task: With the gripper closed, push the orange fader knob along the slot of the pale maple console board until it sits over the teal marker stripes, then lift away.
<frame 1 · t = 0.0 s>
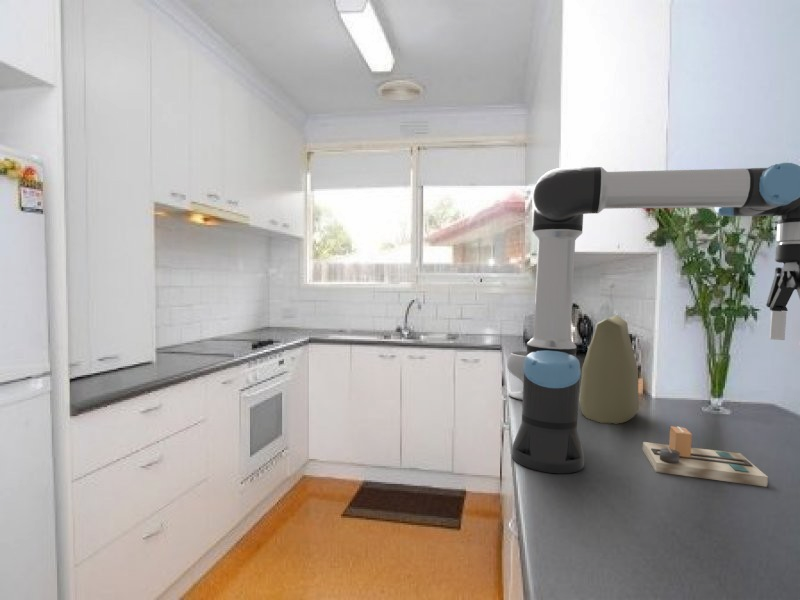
hand: (791, 343, 103), 28 cm above the table, fingers open, 13 cm apart
chalice: (526, 398, 164), on the table
fader knob: (680, 440, 106), point 5 cm above the table, slide at 0.0 cm
container: (607, 414, 147), on the table
console: (699, 466, 105), on the table
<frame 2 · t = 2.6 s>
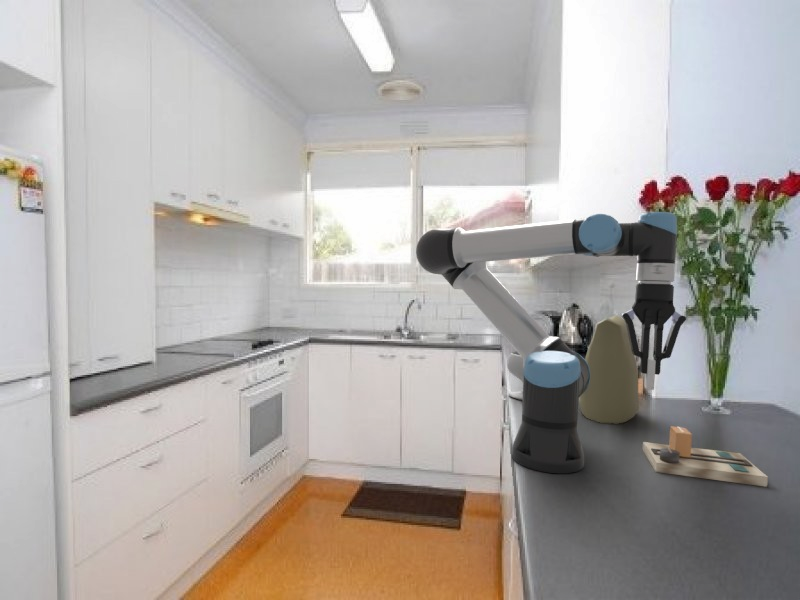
hand: (649, 388, 108), 16 cm above the table, fingers closed
nothing on the table moved.
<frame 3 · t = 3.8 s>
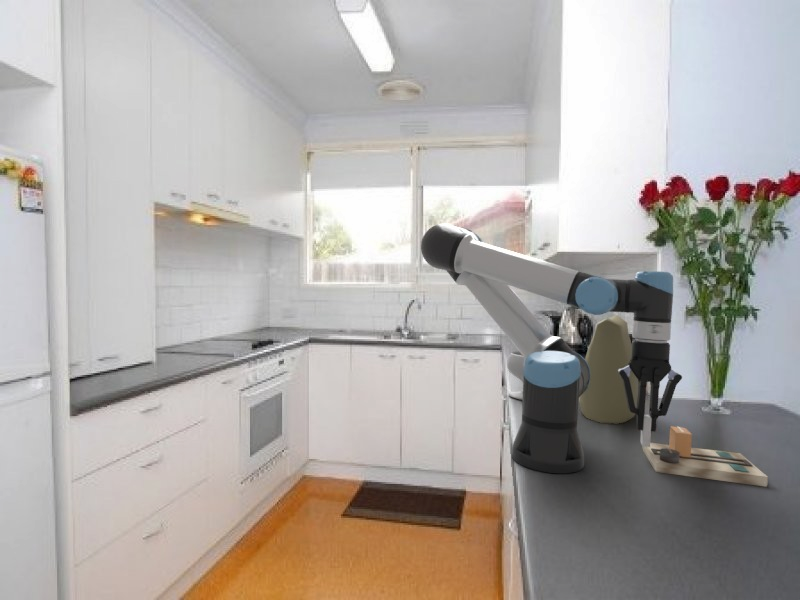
hand: (645, 444, 108), 3 cm above the table, fingers closed
nothing on the table moved.
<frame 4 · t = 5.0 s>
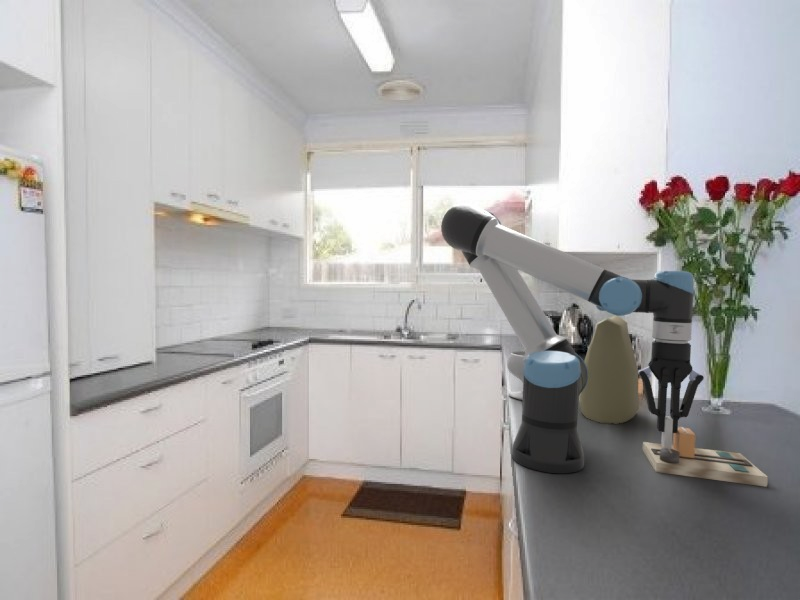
hand: (666, 446, 107), 4 cm above the table, fingers closed
fader knob: (683, 441, 106), point 5 cm above the table, slide at 0.7 cm, touching gripper
everything else where it was.
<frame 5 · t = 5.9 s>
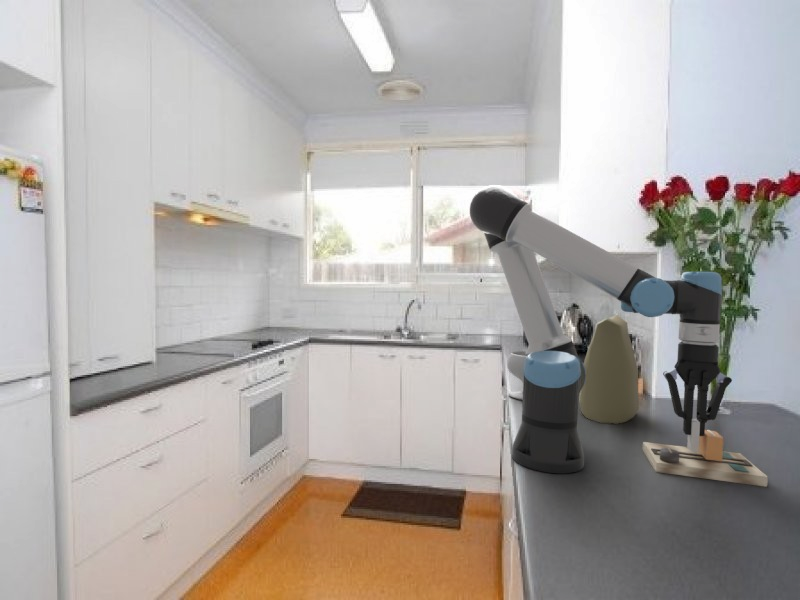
hand: (692, 449, 106), 4 cm above the table, fingers closed
fader knob: (710, 444, 105), point 5 cm above the table, slide at 6.0 cm, touching gripper
everything else where it was.
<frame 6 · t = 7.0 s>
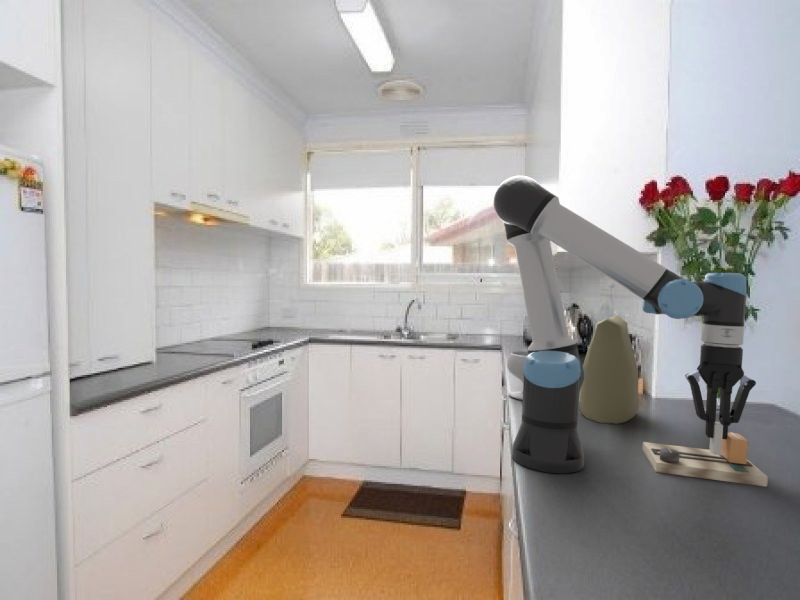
hand: (715, 452, 104), 4 cm above the table, fingers closed
fader knob: (734, 447, 103), point 5 cm above the table, slide at 10.4 cm, touching gripper
everything else where it was.
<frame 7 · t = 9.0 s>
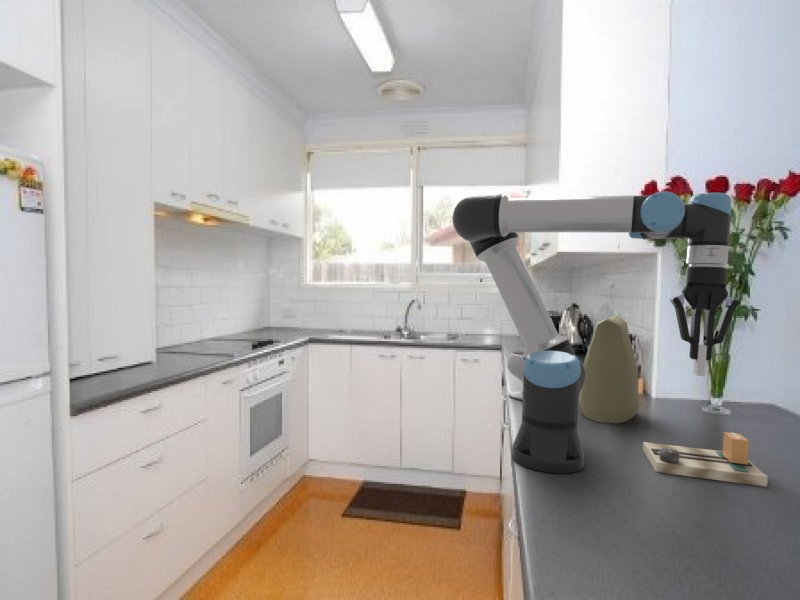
hand: (699, 374, 105), 20 cm above the table, fingers closed
fader knob: (735, 447, 103), point 5 cm above the table, slide at 10.6 cm
everything else where it was.
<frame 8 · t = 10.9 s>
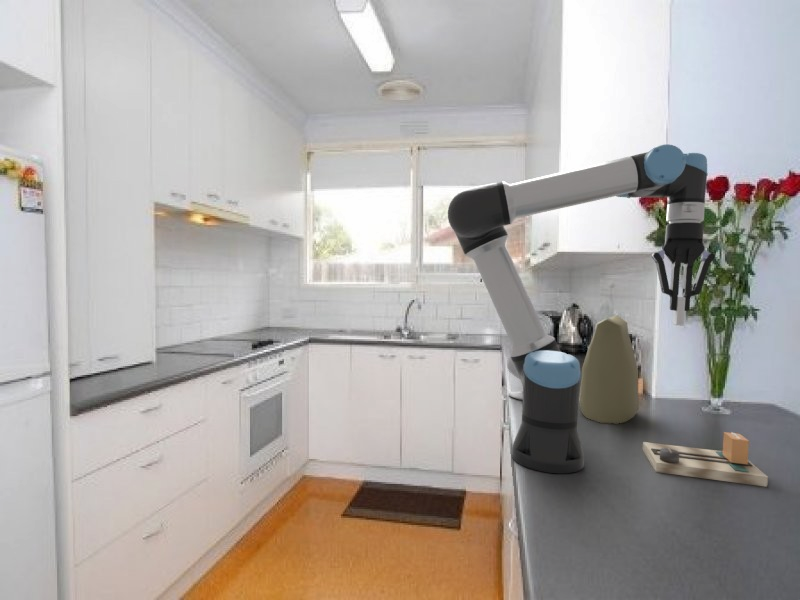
hand: (678, 324, 112), 30 cm above the table, fingers closed
nothing on the table moved.
at the end: fader knob slide at 10.6 cm; fader knob moved 10.6 cm from its start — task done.
